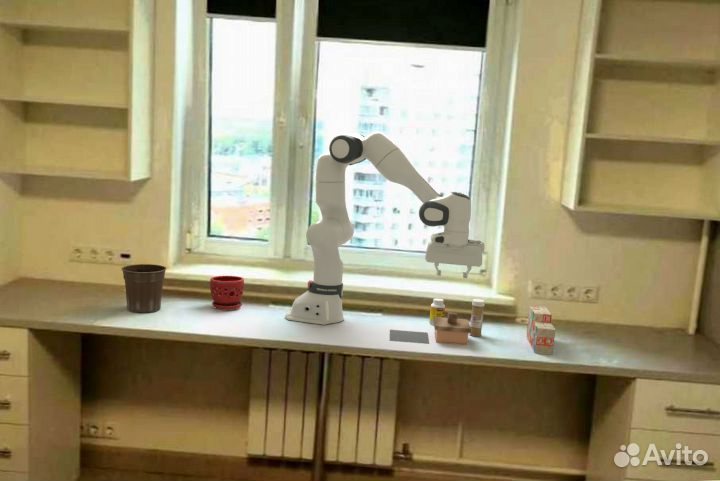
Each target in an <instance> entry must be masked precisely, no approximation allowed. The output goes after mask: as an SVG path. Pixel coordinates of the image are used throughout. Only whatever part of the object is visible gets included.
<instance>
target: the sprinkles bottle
mask: <svg viewBox="0 0 720 481" xmlns="http://www.w3.org/2000/svg"><path fill="white" fill-rule="evenodd" d="M471 305H472V308H471V315H470V316H471V317H470V322H469V325H470V327H471V333H468V335H470V336H472V337H477V338H478V337H481V336H482V329H483V322H484V321H483V320H484V309H485V306H486V305H485V300H484V299H480V298H474V299H473V298H472V302H471Z"/></svg>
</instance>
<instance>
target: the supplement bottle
mask: <svg viewBox="0 0 720 481" xmlns="http://www.w3.org/2000/svg"><path fill="white" fill-rule="evenodd" d="M445 311H446V305H445V304H444V299H443V298H433V302H432V303H431V304H430V311H429V320H428V321H429V322H428V323H429V325H430V326H433V327H434V322H433V318H434V317H442V318H445Z"/></svg>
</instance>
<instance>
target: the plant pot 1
mask: <svg viewBox="0 0 720 481" xmlns="http://www.w3.org/2000/svg"><path fill="white" fill-rule="evenodd" d="M121 271H122V273H123V280H124V286H125V298H126V299H125V300H126V309H127V311H128V312H131V313H135V314H136V313H138V312H140V313H141V314H147V313H148V314H150V313H155V312H157V311H160V309H161V307H162V296H163V288H164V286H163V284H164V280H165V276H166V271H167V266H164V265H160V264H152V263H151V264H150V263H141V264H140V263H138V264H129V265H124V266H122V267H121Z"/></svg>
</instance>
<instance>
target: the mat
mask: <svg viewBox="0 0 720 481" xmlns="http://www.w3.org/2000/svg"><path fill="white" fill-rule="evenodd" d="M389 341H390V342H400V343H401V342H403V343H412V344H413V343H414V344H424V345H427V344H428V345H429V344H430V340H429V333H428V332H426V331H425V332H423V331H411V330H399V329H389Z"/></svg>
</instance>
